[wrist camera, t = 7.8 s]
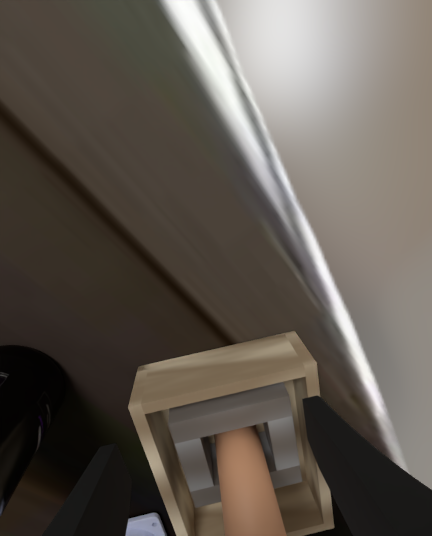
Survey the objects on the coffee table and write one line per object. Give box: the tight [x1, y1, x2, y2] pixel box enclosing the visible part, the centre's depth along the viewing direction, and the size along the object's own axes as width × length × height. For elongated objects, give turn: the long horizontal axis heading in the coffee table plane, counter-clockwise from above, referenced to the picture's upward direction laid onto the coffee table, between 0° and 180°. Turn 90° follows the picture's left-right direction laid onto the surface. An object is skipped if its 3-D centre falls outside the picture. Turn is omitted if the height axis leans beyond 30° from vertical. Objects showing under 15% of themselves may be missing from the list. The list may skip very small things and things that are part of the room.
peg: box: [214, 425, 287, 536], centre depth 19 cm, size 3×3×9 cm
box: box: [128, 331, 334, 536], centre depth 23 cm, size 16×12×4 cm
